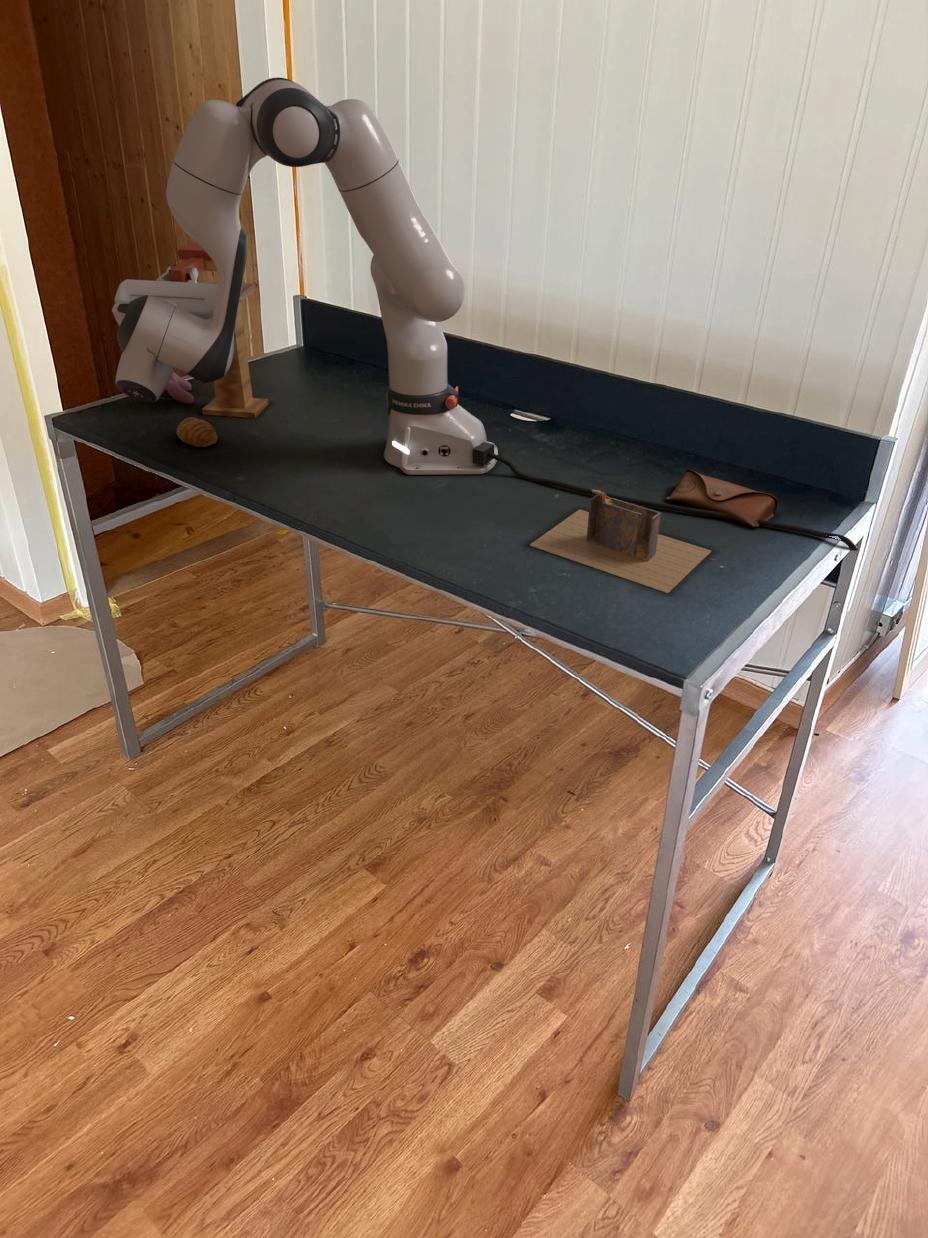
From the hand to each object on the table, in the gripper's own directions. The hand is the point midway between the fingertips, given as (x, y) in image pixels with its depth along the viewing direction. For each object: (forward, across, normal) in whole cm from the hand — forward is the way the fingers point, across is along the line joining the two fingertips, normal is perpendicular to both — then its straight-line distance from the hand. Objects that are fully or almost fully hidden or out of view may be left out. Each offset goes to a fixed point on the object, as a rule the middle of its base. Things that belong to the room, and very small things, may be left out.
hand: (183, 269), depth 172 cm
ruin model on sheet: (-46, -85, +12) cm, 97 cm away
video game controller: (0, +15, +38) cm, 41 cm away
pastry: (-19, +1, +27) cm, 33 cm away
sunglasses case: (-30, -102, +21) cm, 108 cm away
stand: (-4, 0, +36) cm, 36 cm away
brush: (+3, 0, +4) cm, 5 cm away
